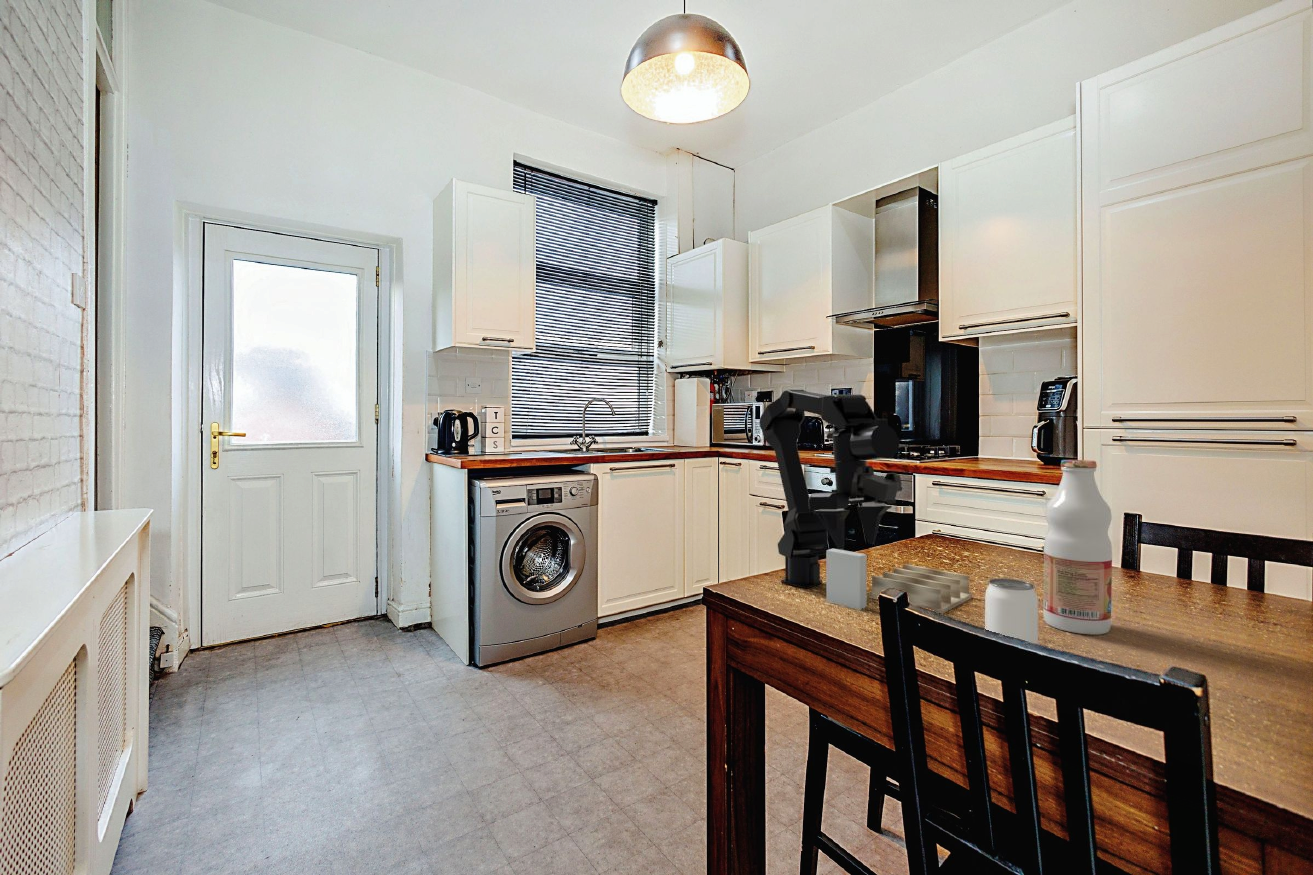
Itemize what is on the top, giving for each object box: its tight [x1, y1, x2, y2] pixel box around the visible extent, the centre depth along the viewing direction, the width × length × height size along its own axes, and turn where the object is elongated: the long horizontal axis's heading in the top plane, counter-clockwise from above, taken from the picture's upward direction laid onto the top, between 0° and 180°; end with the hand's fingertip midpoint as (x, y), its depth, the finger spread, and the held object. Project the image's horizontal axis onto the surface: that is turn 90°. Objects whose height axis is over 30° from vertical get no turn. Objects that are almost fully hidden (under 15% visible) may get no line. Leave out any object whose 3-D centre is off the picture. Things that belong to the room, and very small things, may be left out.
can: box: [984, 577, 1039, 645], centre depth 85 cm, size 6×6×12 cm
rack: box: [868, 563, 974, 615], centre depth 118 cm, size 14×14×4 cm
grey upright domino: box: [825, 548, 867, 611], centre depth 114 cm, size 7×2×10 cm, turn 42°
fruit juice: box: [1042, 459, 1113, 636], centre depth 101 cm, size 9×9×28 cm
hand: (856, 546), depth 110 cm, fingers open, 9 cm apart
